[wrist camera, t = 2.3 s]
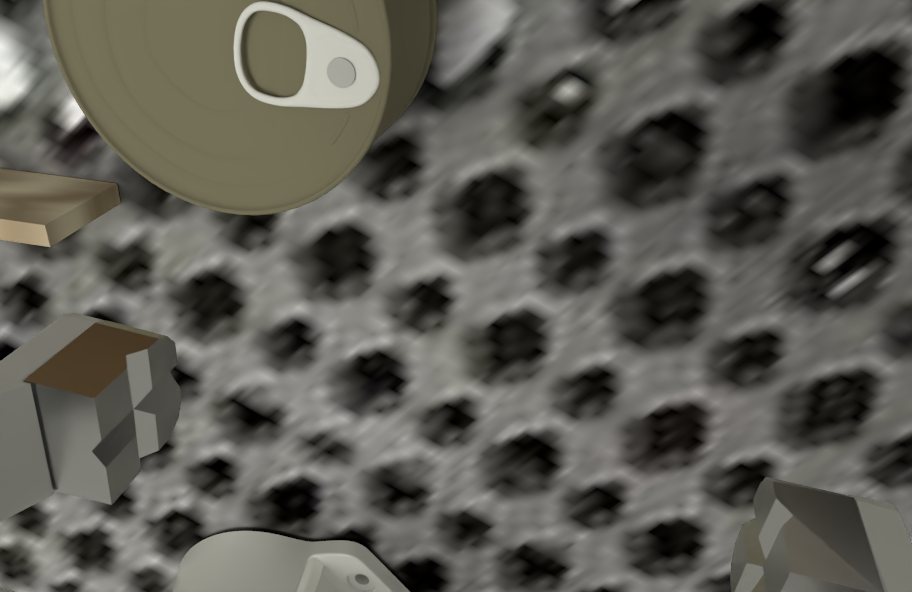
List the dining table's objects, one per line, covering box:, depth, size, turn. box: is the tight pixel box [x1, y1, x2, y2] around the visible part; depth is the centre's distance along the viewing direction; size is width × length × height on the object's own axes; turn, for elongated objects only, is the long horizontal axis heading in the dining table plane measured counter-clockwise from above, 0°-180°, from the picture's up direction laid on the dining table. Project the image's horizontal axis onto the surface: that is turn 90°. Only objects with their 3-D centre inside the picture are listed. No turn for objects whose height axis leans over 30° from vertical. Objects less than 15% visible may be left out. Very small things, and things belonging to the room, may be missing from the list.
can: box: [43, 0, 438, 215], centre depth 27 cm, size 12×12×7 cm
